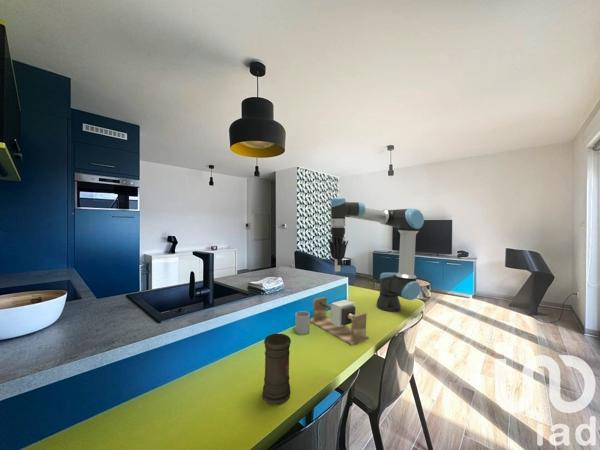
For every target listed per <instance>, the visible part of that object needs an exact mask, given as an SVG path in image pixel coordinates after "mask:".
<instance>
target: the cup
mask: <svg viewBox="0 0 600 450" xmlns="http://www.w3.org/2000/svg"><path fill="white" fill-rule="evenodd" d="M310 316H311V314H310V312H308V311H305V310H304V311H301V310H300V311H297V312H295V317H294V319H295V322H294V323H295V324H294V325H295V328H294V329H295V330H294V332H295V333H296V334H298V335H307V334H309V333H310V323H311V322H310V318H311V317H310Z"/></svg>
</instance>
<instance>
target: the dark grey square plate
mask: <svg viewBox="0 0 600 450" xmlns="http://www.w3.org/2000/svg"><path fill="white" fill-rule="evenodd" d="M349 312H350V313H352V314H353V315H356V305H354V306H349V307H346V308H342V318H341V324H342V325H344V326H345V325H346V326H348V325H350V324H351V325H352V320H351V319H348V318H347V313H349Z"/></svg>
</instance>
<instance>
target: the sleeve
mask: <svg viewBox="0 0 600 450" xmlns="http://www.w3.org/2000/svg"><path fill="white" fill-rule="evenodd" d="M330 305H331V310H330V311H331V312H330V318H331V323H332V324H334V325H336V326H338V327H342V326H344V325H342V324H341V318H342V308H346V307H349V306H355V302H353V301H350V300H347V299H342V300H339V301H333V302H331V304H330ZM349 313H350V312H349Z"/></svg>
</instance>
